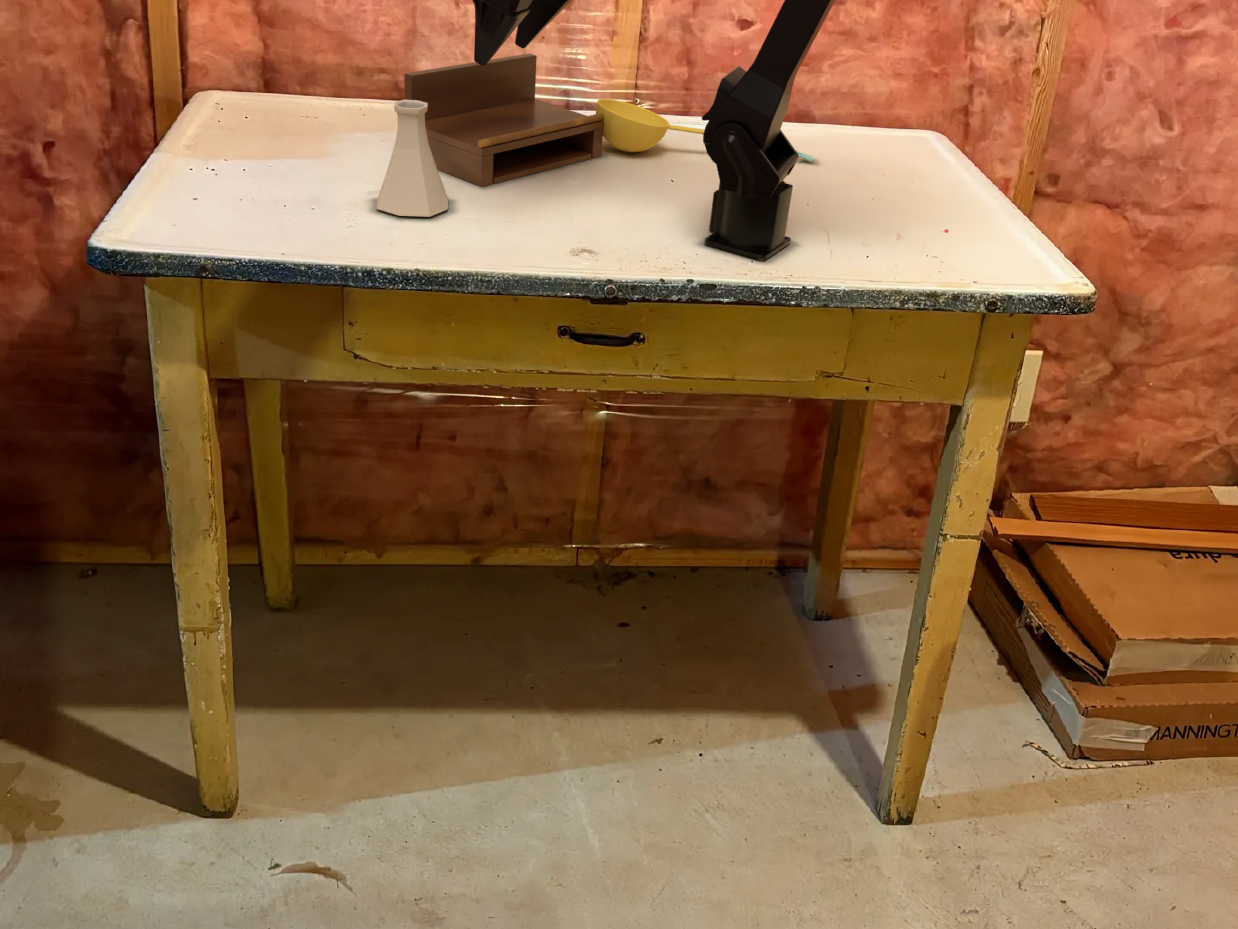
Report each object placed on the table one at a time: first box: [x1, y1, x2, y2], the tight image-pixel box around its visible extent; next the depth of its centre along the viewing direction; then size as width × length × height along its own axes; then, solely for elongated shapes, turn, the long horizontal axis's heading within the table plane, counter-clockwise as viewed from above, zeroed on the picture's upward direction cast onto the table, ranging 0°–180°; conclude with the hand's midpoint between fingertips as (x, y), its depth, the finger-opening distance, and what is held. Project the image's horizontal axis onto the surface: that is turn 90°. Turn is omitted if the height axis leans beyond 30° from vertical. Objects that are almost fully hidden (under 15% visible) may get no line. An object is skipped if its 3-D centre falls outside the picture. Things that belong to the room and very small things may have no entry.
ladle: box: [595, 98, 814, 163], centre depth 135 cm, size 9×26×6 cm, turn 93°
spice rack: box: [403, 53, 604, 188], centre depth 126 cm, size 12×19×9 cm, turn 139°
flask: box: [375, 99, 449, 218], centre depth 110 cm, size 7×7×10 cm
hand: (500, 54), depth 110 cm, fingers open, 9 cm apart
